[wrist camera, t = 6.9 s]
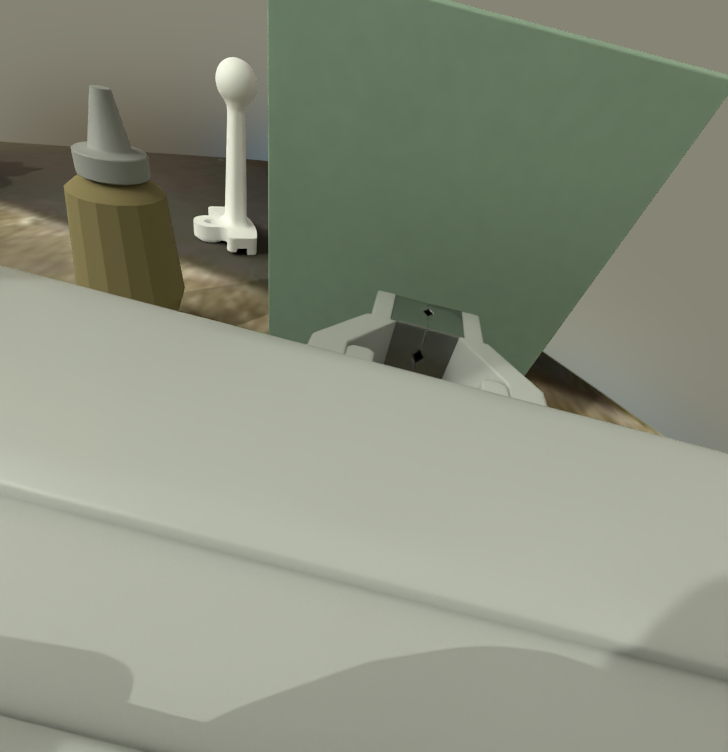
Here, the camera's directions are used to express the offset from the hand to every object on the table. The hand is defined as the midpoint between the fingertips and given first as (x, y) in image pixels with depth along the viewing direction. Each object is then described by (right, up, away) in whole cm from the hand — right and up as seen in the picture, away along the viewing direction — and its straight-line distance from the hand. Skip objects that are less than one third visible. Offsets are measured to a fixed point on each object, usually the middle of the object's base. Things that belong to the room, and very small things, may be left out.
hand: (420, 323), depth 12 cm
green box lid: (0, +2, +4) cm, 5 cm away
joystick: (-21, +17, +43) cm, 51 cm away
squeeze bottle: (-22, +3, +25) cm, 34 cm away
